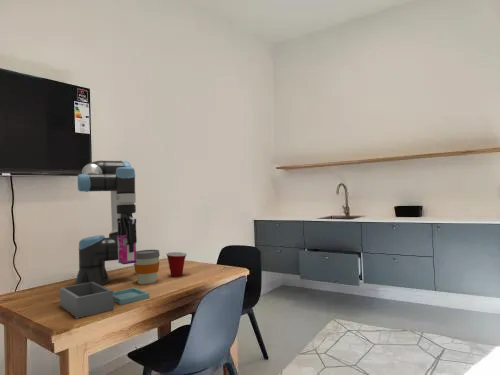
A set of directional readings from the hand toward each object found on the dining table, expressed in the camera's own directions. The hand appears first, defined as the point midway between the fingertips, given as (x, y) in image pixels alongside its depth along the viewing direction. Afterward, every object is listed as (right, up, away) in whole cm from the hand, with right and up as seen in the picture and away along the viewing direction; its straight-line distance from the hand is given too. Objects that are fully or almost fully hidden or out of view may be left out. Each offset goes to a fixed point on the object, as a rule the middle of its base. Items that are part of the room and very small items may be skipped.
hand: (127, 259), depth 141 cm
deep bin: (-11, -16, -12) cm, 23 cm away
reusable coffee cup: (0, -17, +27) cm, 32 cm away
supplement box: (0, -2, 0) cm, 2 cm away
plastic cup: (+13, -17, +38) cm, 44 cm away
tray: (0, -16, 0) cm, 16 cm away
